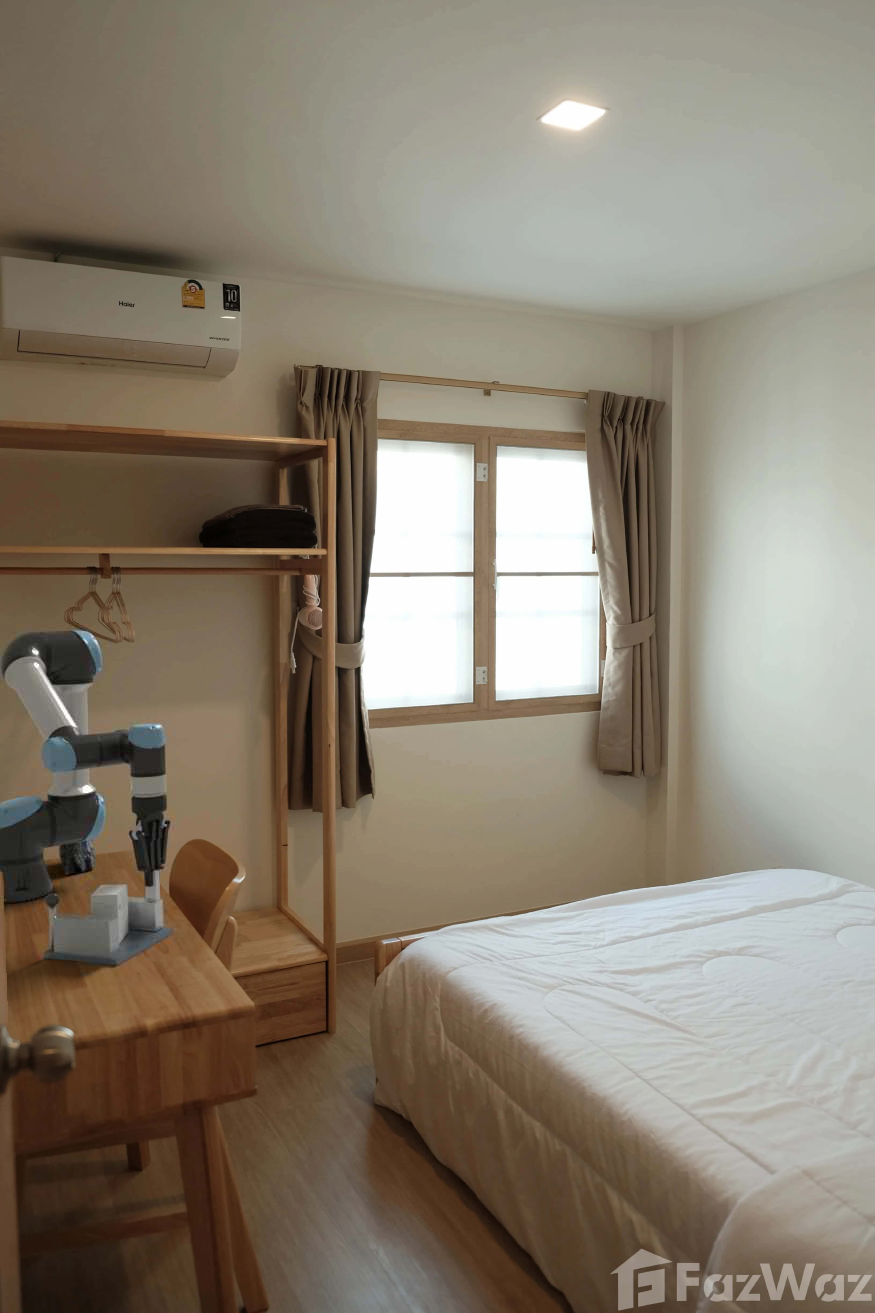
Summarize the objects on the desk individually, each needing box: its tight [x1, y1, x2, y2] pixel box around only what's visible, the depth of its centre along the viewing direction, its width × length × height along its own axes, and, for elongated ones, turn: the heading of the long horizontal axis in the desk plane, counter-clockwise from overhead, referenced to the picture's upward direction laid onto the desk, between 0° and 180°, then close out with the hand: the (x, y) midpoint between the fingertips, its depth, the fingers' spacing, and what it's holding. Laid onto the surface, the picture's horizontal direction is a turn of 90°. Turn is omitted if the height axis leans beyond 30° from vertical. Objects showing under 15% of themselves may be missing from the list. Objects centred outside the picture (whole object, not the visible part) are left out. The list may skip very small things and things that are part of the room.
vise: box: [43, 892, 174, 966], centre depth 205 cm, size 20×18×13 cm
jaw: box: [127, 896, 164, 931], centre depth 213 cm, size 3×13×6 cm, turn 73°
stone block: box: [58, 839, 96, 875], centre depth 271 cm, size 18×9×20 cm, turn 18°
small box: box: [89, 883, 128, 943], centre depth 205 cm, size 8×6×10 cm
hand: (152, 899), depth 220 cm, fingers closed
